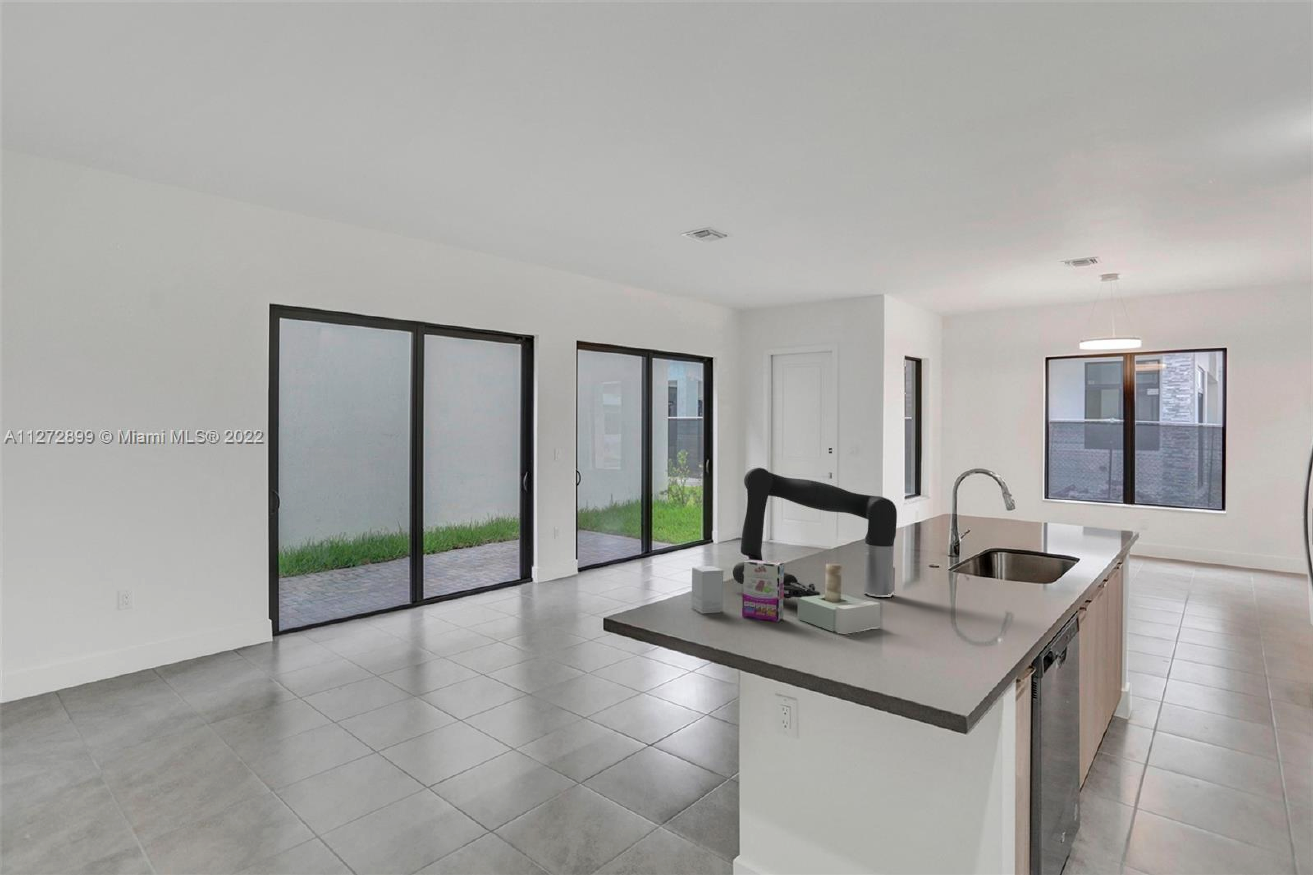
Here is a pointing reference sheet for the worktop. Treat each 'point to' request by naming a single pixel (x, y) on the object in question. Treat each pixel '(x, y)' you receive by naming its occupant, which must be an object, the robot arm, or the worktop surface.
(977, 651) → the worktop surface
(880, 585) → the robot arm
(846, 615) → the backstop board
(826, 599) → the birch dowel
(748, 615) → the candy bar box
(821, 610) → the socket block
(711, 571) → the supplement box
